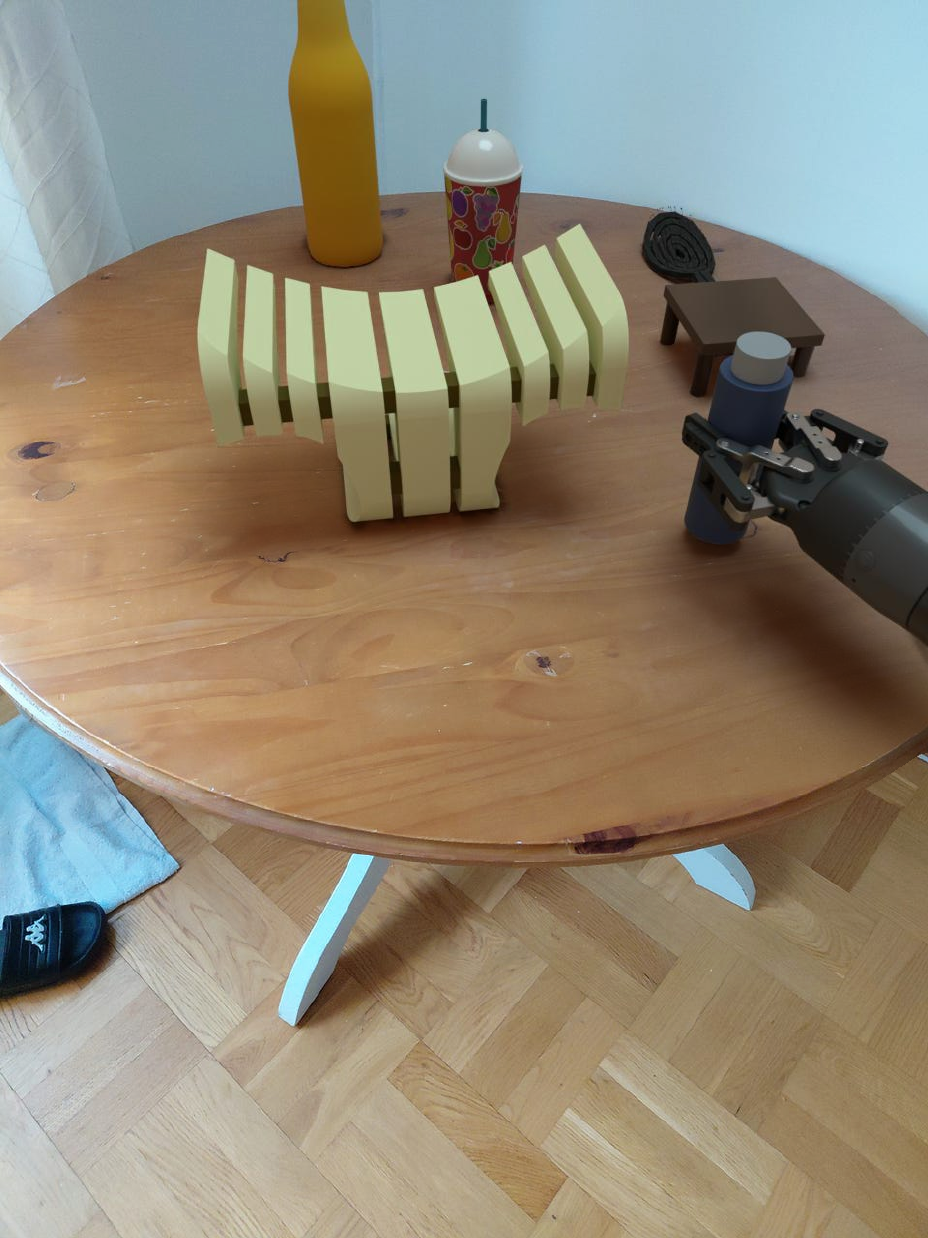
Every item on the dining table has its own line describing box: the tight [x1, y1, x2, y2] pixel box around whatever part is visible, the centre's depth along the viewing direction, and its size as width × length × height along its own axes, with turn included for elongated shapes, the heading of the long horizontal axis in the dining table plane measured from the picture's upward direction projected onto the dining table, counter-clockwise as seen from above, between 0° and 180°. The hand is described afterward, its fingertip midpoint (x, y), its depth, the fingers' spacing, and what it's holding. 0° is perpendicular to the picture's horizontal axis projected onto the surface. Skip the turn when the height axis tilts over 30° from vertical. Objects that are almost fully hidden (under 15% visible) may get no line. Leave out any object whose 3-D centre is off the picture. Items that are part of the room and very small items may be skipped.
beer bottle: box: [287, 0, 384, 268], centre depth 96 cm, size 9×9×29 cm
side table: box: [659, 276, 826, 398], centre depth 87 cm, size 12×12×6 cm
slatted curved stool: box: [197, 223, 630, 523], centre depth 70 cm, size 30×16×18 cm, turn 98°
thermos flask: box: [683, 332, 794, 545], centre depth 64 cm, size 5×5×16 cm
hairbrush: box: [641, 205, 717, 283], centre depth 100 cm, size 8×4×25 cm
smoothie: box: [442, 98, 524, 304], centre depth 92 cm, size 8×8×20 cm
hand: (717, 413), depth 65 cm, fingers closed on thermos flask, 5 cm apart
